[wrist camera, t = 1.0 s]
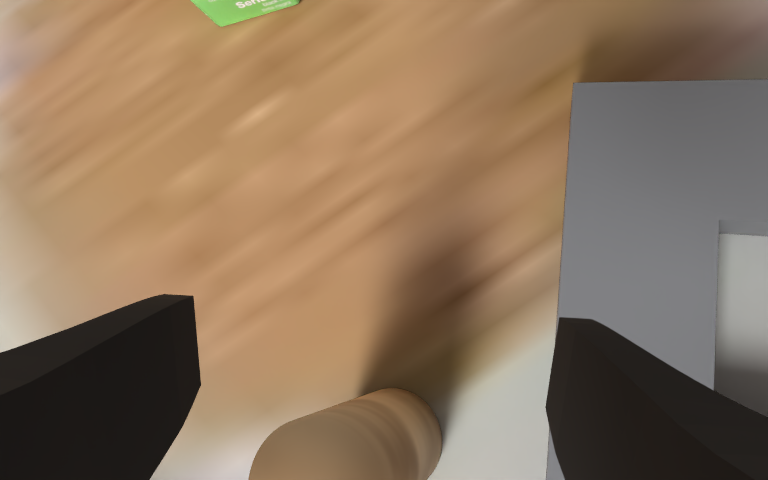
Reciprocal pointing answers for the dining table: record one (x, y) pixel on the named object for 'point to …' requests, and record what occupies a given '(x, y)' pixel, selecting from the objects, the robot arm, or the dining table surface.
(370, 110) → the dining table surface
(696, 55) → the dining table surface
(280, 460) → the peg
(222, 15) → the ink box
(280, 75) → the dining table surface
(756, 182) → the docking block
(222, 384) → the dining table surface
